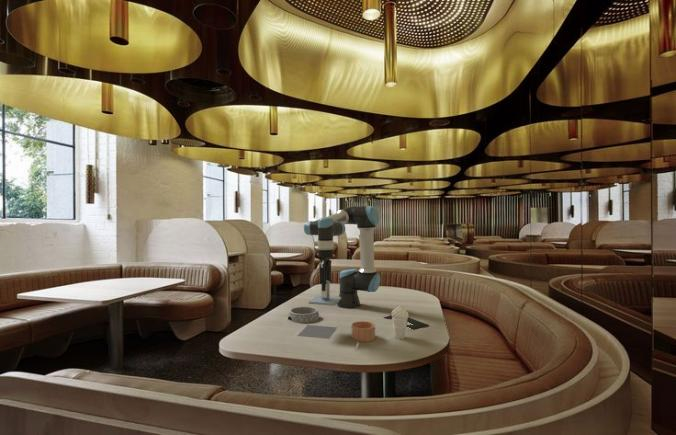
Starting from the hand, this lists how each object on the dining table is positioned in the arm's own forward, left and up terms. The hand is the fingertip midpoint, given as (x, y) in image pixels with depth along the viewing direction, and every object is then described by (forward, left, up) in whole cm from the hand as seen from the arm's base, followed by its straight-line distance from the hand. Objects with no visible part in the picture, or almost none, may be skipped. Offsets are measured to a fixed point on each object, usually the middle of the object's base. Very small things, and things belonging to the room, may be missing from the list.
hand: (325, 295), depth 160 cm
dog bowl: (-19, -18, -19) cm, 32 cm away
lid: (0, 0, -3) cm, 3 cm away
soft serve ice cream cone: (-3, +36, -19) cm, 41 cm away
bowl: (+1, +19, -19) cm, 27 cm away
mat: (0, -4, -19) cm, 19 cm away
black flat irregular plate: (-27, +37, -19) cm, 50 cm away
